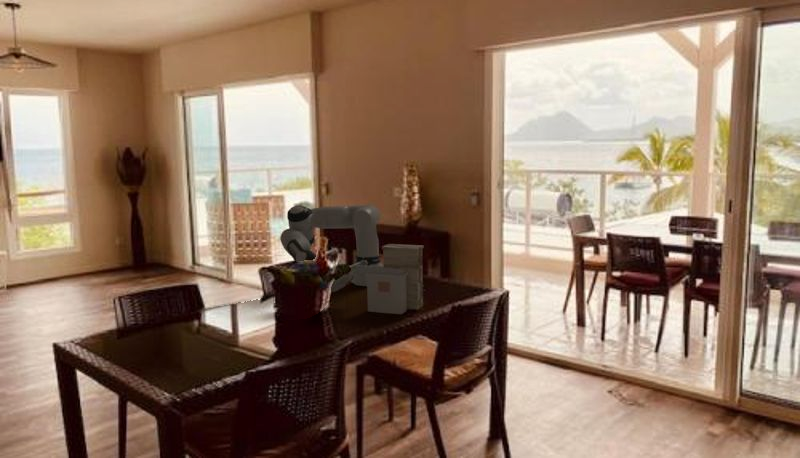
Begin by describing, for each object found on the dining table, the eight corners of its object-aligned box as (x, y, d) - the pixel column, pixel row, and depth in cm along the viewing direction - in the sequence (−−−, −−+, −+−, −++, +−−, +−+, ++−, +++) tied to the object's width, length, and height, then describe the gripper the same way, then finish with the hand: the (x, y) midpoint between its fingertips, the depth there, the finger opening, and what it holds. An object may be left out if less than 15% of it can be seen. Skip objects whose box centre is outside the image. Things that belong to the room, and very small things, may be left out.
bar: (353, 272, 252) (353, 265, 252) (356, 270, 255) (356, 264, 255) (403, 275, 245) (402, 268, 244) (405, 273, 248) (405, 266, 247)
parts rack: (372, 307, 257) (371, 270, 255) (408, 310, 252) (407, 272, 249) (366, 311, 251) (365, 273, 248) (402, 314, 245) (401, 276, 243)
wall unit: (389, 302, 264) (388, 244, 261) (424, 305, 259) (423, 245, 256) (382, 307, 257) (381, 246, 254) (418, 310, 252) (417, 248, 248)
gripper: (321, 277, 248) (347, 262, 243) (343, 267, 267) (367, 253, 262) (329, 290, 247) (355, 275, 242) (350, 280, 267) (374, 266, 261)
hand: (362, 264), depth 252 cm, fingers open, 8 cm apart
